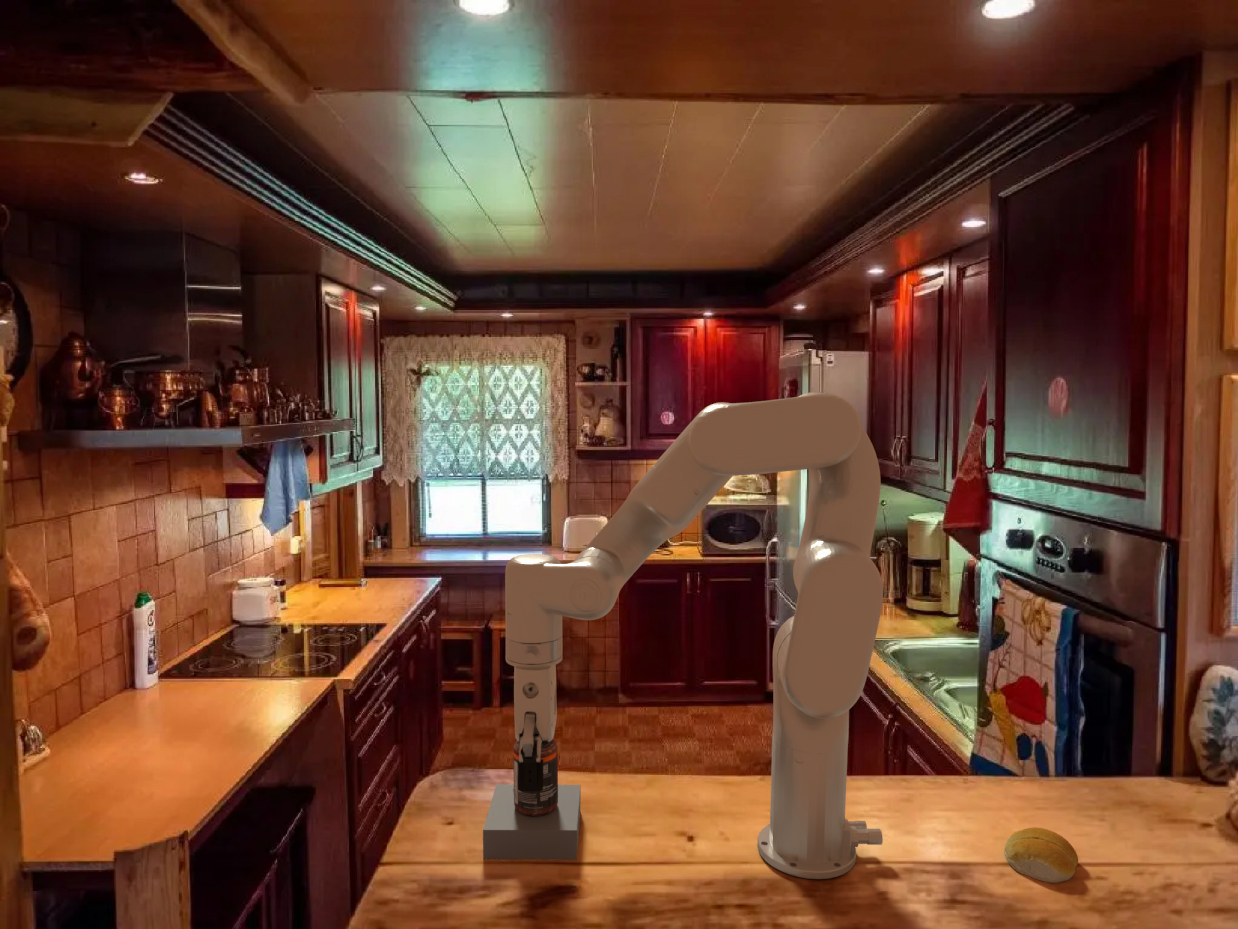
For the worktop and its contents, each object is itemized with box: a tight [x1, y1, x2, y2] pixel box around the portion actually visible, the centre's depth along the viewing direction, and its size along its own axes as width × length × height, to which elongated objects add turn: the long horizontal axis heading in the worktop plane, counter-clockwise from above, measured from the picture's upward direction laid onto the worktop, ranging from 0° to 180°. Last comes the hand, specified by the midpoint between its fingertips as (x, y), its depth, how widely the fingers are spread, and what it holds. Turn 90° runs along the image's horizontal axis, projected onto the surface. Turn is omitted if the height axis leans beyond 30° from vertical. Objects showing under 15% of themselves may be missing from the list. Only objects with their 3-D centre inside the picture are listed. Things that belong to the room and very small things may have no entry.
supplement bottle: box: [512, 734, 559, 816], centre depth 111 cm, size 6×6×11 cm
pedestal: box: [482, 783, 582, 861], centre depth 111 cm, size 12×12×4 cm
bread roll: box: [1003, 827, 1079, 884], centre depth 106 cm, size 8×9×4 cm
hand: (534, 772), depth 111 cm, fingers open, 9 cm apart
